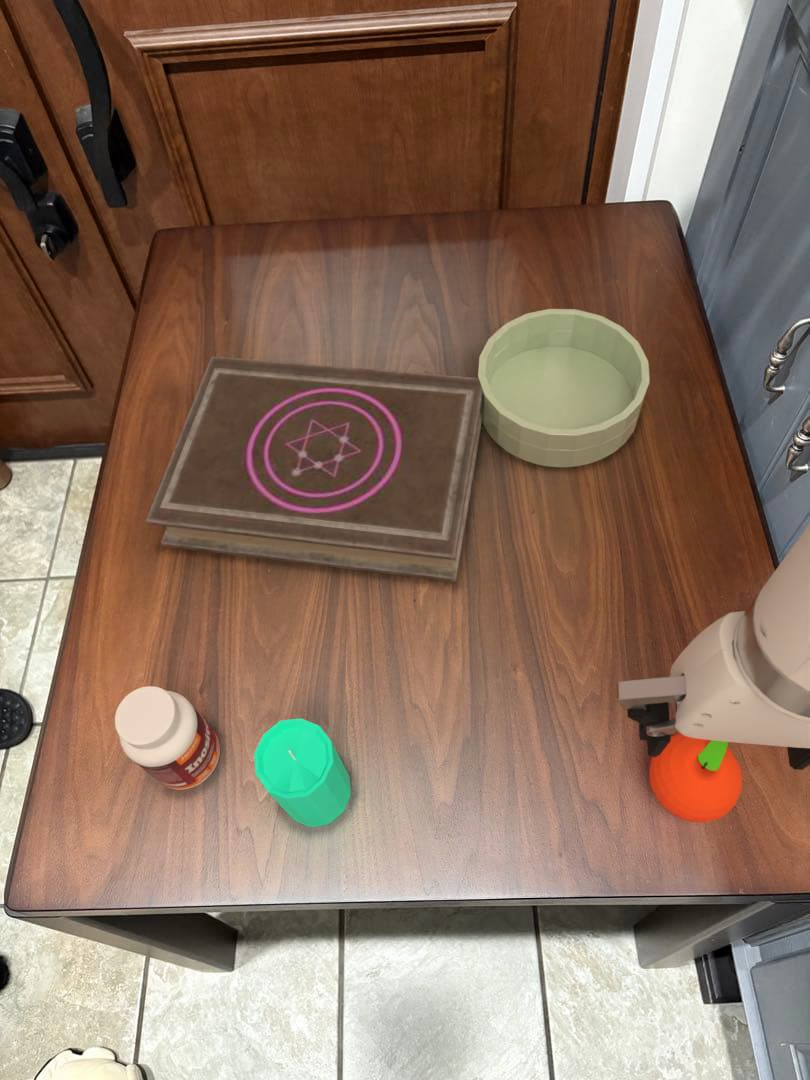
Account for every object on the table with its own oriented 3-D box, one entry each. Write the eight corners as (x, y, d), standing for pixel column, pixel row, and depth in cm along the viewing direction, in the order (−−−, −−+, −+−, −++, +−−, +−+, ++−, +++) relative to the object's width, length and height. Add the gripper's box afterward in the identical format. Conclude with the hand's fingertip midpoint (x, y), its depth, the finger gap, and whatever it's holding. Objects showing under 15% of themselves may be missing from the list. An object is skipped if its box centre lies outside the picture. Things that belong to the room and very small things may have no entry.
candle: (272, 773, 69) (238, 731, 58) (336, 744, 70) (314, 698, 59) (295, 839, 66) (263, 807, 56) (361, 809, 67) (342, 772, 56)
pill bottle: (214, 793, 68) (174, 757, 59) (145, 789, 69) (94, 753, 59) (227, 722, 71) (191, 678, 62) (161, 719, 72) (115, 675, 63)
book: (162, 546, 82) (145, 520, 77) (224, 383, 93) (212, 352, 88) (456, 582, 77) (455, 557, 73) (485, 405, 88) (485, 374, 84)
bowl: (636, 346, 91) (645, 310, 86) (643, 471, 82) (653, 438, 78) (482, 342, 93) (483, 306, 88) (473, 463, 84) (473, 431, 80)
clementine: (675, 720, 69) (695, 691, 63) (749, 770, 66) (778, 745, 60) (625, 793, 66) (641, 771, 60) (701, 849, 63) (726, 831, 57)
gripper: (973, 593, 43) (839, 701, 57) (643, 571, 44) (595, 681, 59) (1013, 729, 39) (859, 808, 53) (650, 700, 40) (597, 784, 55)
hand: (721, 741), depth 56 cm, fingers open, 9 cm apart
